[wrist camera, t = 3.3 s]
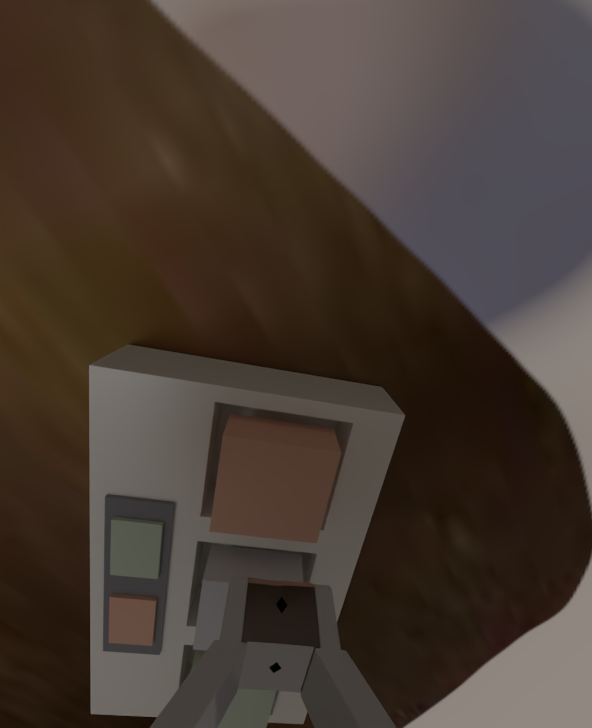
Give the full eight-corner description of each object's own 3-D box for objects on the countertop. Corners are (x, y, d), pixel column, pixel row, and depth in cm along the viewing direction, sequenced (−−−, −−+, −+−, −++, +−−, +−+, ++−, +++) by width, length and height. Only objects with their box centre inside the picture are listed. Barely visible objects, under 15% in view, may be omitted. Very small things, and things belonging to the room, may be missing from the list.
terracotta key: (312, 511, 17) (316, 543, 15) (217, 499, 16) (209, 531, 14) (333, 428, 15) (341, 452, 13) (230, 413, 15) (222, 435, 13)
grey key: (285, 616, 19) (285, 656, 17) (202, 609, 18) (192, 649, 16) (301, 553, 17) (304, 589, 15) (211, 544, 17) (202, 580, 15)
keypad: (300, 662, 25) (303, 732, 21) (117, 649, 23) (87, 722, 20) (381, 386, 18) (408, 419, 14) (127, 344, 16) (83, 368, 13)
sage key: (264, 698, 21) (262, 741, 19) (189, 694, 21) (180, 738, 19) (276, 649, 20) (276, 690, 18) (196, 643, 19) (187, 685, 17)
